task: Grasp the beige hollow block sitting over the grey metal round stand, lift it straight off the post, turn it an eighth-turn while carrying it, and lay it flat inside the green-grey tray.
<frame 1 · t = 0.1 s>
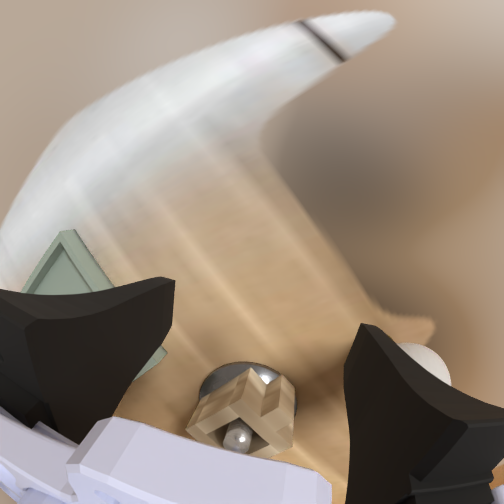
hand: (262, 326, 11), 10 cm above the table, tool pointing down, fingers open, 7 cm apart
beige hollow block: (247, 406, 23), resting on grey metal round stand
grey metal round stand: (247, 402, 23), on the table
light bulb: (374, 344, 21), on the table
tray: (79, 330, 25), on the table
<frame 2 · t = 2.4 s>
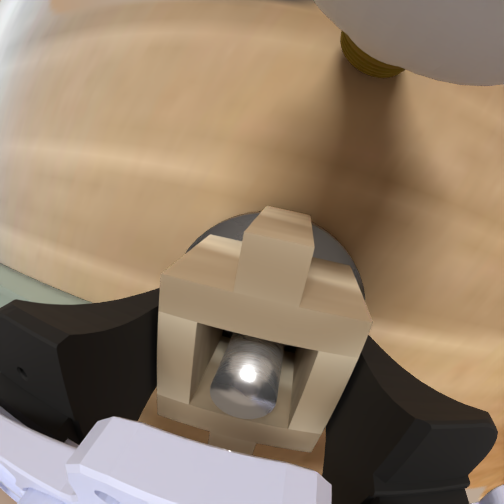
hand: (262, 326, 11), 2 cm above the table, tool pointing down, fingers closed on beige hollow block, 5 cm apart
beige hollow block: (265, 313, 12), resting on grey metal round stand, touching gripper
grey metal round stand: (267, 307, 13), on the table
light bulb: (370, 54, 9), on the table
tray: (44, 361, 17), on the table
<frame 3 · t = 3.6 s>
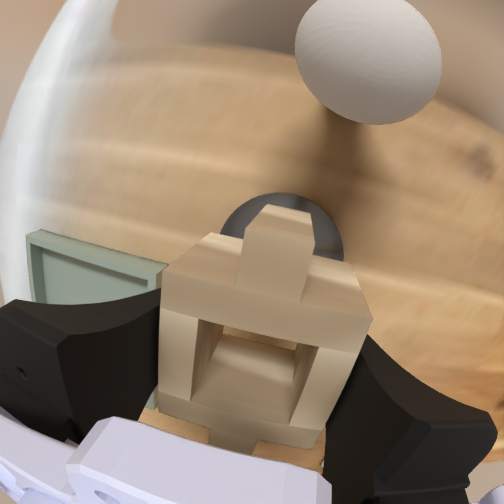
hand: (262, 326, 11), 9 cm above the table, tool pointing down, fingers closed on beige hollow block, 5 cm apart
beige hollow block: (266, 310, 12), point 8 cm above the table, touching gripper
grey metal round stand: (280, 255, 20), on the table
light bulb: (345, 92, 16), on the table
tray: (96, 316, 24), on the table
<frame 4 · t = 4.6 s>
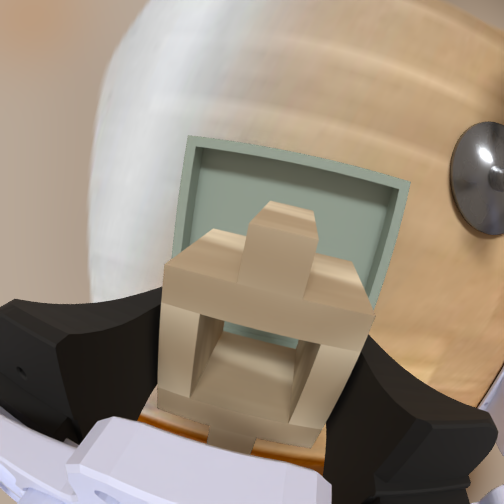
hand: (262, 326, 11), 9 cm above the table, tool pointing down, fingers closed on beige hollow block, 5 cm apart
beige hollow block: (267, 308, 12), point 8 cm above the table, touching gripper
grey metal round stand: (493, 178, 16), on the table
tray: (279, 255, 20), on the table
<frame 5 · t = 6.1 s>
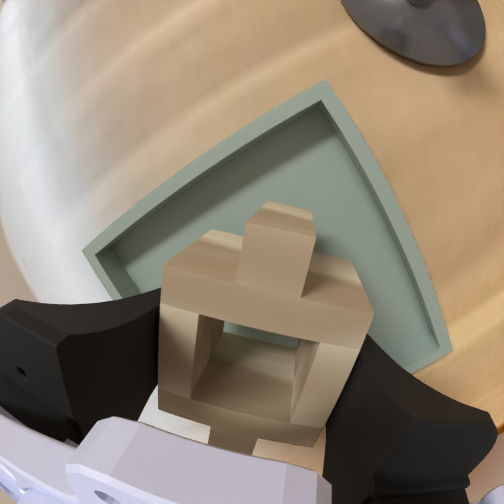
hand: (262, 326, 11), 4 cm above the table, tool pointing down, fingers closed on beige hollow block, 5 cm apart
beige hollow block: (267, 308, 12), point 2 cm above the table, touching gripper
tray: (272, 289, 15), on the table
when the fingers open (3 cm above the table, at t = 7.2 s): beige hollow block drops 1 cm, resting on tray.
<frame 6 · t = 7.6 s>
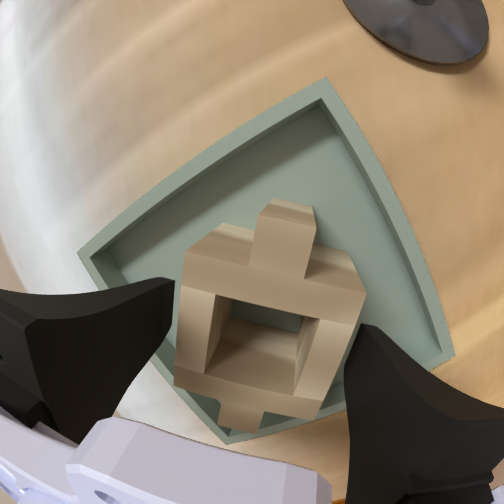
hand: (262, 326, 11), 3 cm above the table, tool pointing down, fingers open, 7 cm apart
beige hollow block: (271, 294, 14), resting on tray
tray: (271, 293, 14), on the table
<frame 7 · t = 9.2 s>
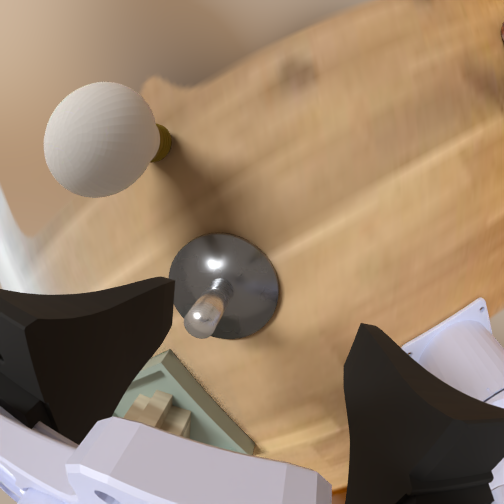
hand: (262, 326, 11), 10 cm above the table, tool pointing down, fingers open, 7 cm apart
beige hollow block: (165, 419, 27), resting on tray
grey metal round stand: (222, 287, 22), on the table
light bulb: (160, 143, 20), on the table
tray: (166, 417, 27), on the table
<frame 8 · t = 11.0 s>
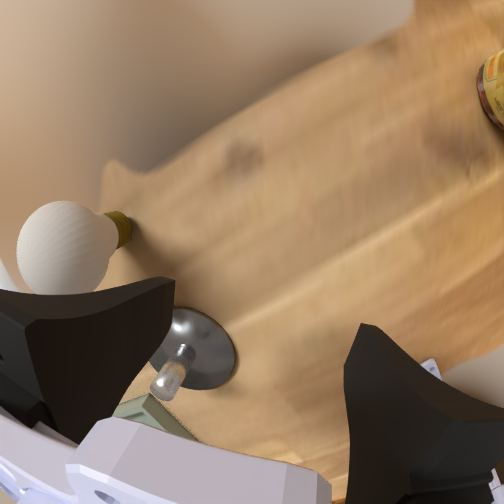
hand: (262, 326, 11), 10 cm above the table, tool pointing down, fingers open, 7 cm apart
sauce bottle: (500, 97, 15), on the table
grey metal round stand: (187, 349, 24), on the table
light bulb: (124, 225, 22), on the table
tray: (152, 444, 29), on the table
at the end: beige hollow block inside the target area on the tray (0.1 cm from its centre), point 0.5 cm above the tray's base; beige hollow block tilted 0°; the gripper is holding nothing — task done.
